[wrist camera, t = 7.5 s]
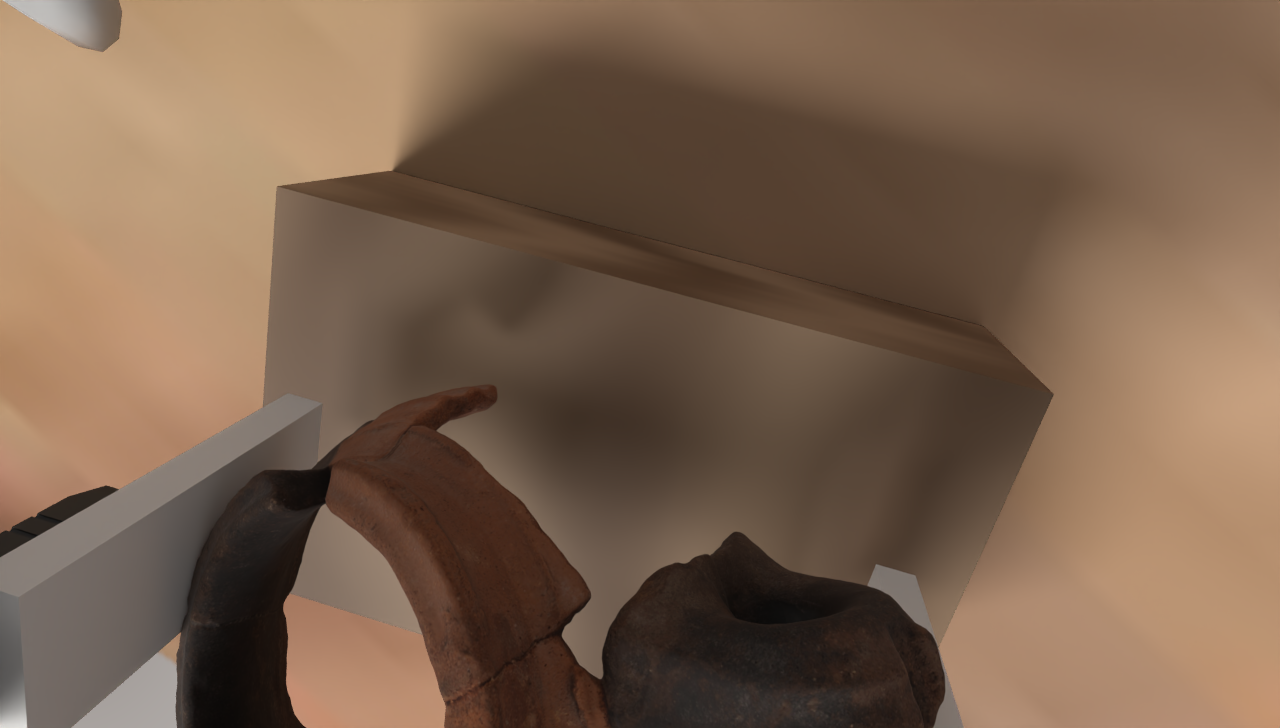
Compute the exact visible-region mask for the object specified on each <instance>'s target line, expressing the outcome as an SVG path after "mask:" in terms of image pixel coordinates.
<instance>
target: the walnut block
mask: <svg viewBox="0 0 1280 728" xmlns="http://www.w3.org/2000/svg"><path fill="white" fill-rule="evenodd" d="M488 384H490V385H494V386H495V387H496V388H497V401H496V403H495V404H493V405H492V406H491V407H490V408H489V409H487V410H485V411H481V412H477V413H474V414H471V415H468V416H466V417H463V418H459V419H455V420H451V421H448V422H447V423H446V424H444V425H442V426H441V427H440V428H439V429H437V430H436V431H437V432H439V433H441V434H443V435H445V436H447V437H449V438H450V439H452V440H454V441H456V442H457V443H458V444H459V445H461V446H462V447H463V448H465V449H466V450H467V451H469V452H470V454H471V455H472V456H473V457H474V458H476V459H477V460H478V461H479V462H480V463H481V464H482V465H483V467H484V469H485V470H486V471H487V472H488V473H489V474H491V475H492V476H493V477H494V478H495V479H496V480H497V481H498V482H499V483H500V484H501V485H502V486H503V487H505V488H506V489H508V490H509V491H510V492H511V493H513V494H514V495H515V496H517V497H518V498H519V499H520V500H521V501H522V502H523V503H524V504H525V505H526V507H527V509H528V510H529V511H530V513H531V514H532V515H533V516H534V518H535V519H536V520H537V522H538V524H539V525H540V527H541V529H542V530H543V531H544V532H545V533H546V534H547V535H548V536H549V537H550V538H551V539H552V541H553V542H554V543H555V545H556V546H557V547H558V548H559V550H560V551H561V552H562V553H563V554H564V556H565V557H566V559H567V560H568V562H569V563H570V564H571V565H572V566H573V567H574V568H575V569H576V570H577V571H578V572H579V573H580V575H581V576H582V578H583V579H584V581H585V582H586V584H587V586H588V588H589V590H590V591H591V599H590V600H589V602H588V603H587V605H586V606H585V607H584V608H583V609H582V610H581V611H580V612H579V613H577V614H575V616H574V617H573V619H572V621H571V622H570V623H569V624H567V625H566V626H565V628H564V630H563V633H562V638H563V639H564V641H565V642H566V643H567V645H568V646H569V648H570V649H571V651H572V652H573V654H574V656H575V657H576V660H577V662H578V663H579V665H580V666H582V667H583V668H585V669H586V670H587V671H588V672H589V673H591V674H592V675H593V676H595V677H597V678H599V679H602V677H603V664H602V649H603V646H604V643H605V640H606V636H607V633H608V630H609V627H610V625H611V624H612V622H613V621H614V619H615V618H616V616H617V614H618V612H619V611H620V609H621V608H622V607H623V606H624V604H625V603H626V602H628V600H629V599H630V598H631V597H633V596H634V595H635V594H636V593H637V591H638V590H639V588H640V587H641V585H642V584H643V583H644V581H645V580H646V579H647V578H648V577H649V576H651V575H652V574H653V573H654V572H656V571H657V570H658V569H660V568H663V567H665V566H667V565H671V564H673V563H677V562H678V563H683V564H685V563H688V562H689V561H690V560H691V559H693V558H694V557H696V556H699V555H703V554H708V555H711V554H713V553H714V552H715V551H716V549H718V548H719V547H720V546H721V544H722V542H723V541H724V540H725V539H726V538H727V537H728V536H729V535H730V534H732V533H733V532H741V533H743V534H744V535H746V536H747V537H748V538H749V539H750V540H751V541H752V542H753V543H755V544H756V545H757V546H759V547H760V548H761V549H762V550H763V551H764V552H765V553H766V554H767V555H768V556H769V557H771V558H772V559H773V560H774V561H775V562H777V563H778V564H780V565H781V566H782V567H784V568H786V569H788V570H790V571H793V572H797V573H802V574H806V575H811V576H816V577H825V578H830V579H836V580H842V581H847V582H854V583H858V584H862V585H866V586H868V583H869V581H870V578H871V576H872V573H873V571H874V568H875V566H876V564H877V565H881V566H884V567H888V568H891V569H894V570H898V571H901V572H905V573H908V574H912V575H915V576H916V579H917V582H918V585H919V588H920V591H921V595H922V598H923V601H924V604H925V607H926V610H927V613H928V617H929V620H930V623H931V626H932V629H933V632H934V635H935V639H936V642H937V645H938V648H939V646H940V643H941V641H942V639H943V637H944V635H945V632H946V630H947V628H948V626H949V624H950V621H951V619H952V617H953V615H954V613H955V610H956V608H957V606H958V604H959V602H960V599H961V597H962V595H963V593H964V591H965V588H966V586H967V584H968V582H969V580H970V577H971V575H972V573H973V571H974V569H975V566H976V564H977V562H978V560H979V558H980V555H981V553H982V551H983V549H984V547H985V544H986V542H987V540H988V538H989V536H990V533H991V531H992V529H993V527H994V525H995V522H996V520H997V518H998V516H999V514H1000V511H1001V509H1002V507H1003V505H1004V503H1005V501H1006V498H1007V496H1008V494H1009V492H1010V490H1011V487H1012V485H1013V483H1014V481H1015V479H1016V476H1017V474H1018V472H1019V470H1020V468H1021V465H1022V463H1023V461H1024V459H1025V457H1026V454H1027V452H1028V450H1029V448H1030V446H1031V443H1032V441H1033V439H1034V437H1035V435H1036V432H1037V430H1038V428H1039V426H1040V424H1041V421H1042V419H1043V417H1044V415H1045V413H1046V410H1047V408H1048V406H1049V404H1050V402H1051V399H1052V397H1053V395H1054V394H1053V393H1052V392H1051V391H1050V390H1049V389H1048V388H1047V387H1046V386H1045V385H1044V384H1043V383H1042V382H1041V381H1040V380H1038V379H1037V378H1036V377H1035V376H1034V375H1033V374H1032V373H1031V372H1030V371H1029V370H1028V369H1027V368H1026V367H1025V366H1024V365H1023V364H1022V363H1021V362H1020V361H1019V360H1018V359H1017V358H1016V357H1015V356H1014V355H1013V354H1012V353H1011V352H1010V351H1009V350H1008V349H1007V348H1006V347H1005V346H1004V345H1002V344H1001V343H1000V342H999V341H998V340H997V339H996V338H995V337H994V336H993V335H992V334H991V333H990V332H989V331H988V330H987V329H986V328H985V327H984V326H981V325H977V324H973V323H969V322H965V321H962V320H958V319H954V318H950V317H946V316H943V315H939V314H935V313H931V312H927V311H924V310H920V309H916V308H912V307H908V306H904V305H901V304H897V303H893V302H889V301H885V300H882V299H878V298H874V297H870V296H866V295H863V294H859V293H855V292H851V291H847V290H844V289H840V288H836V287H832V286H828V285H824V284H821V283H817V282H813V281H809V280H805V279H802V278H798V277H794V276H790V275H786V274H783V273H779V272H775V271H771V270H767V269H763V268H760V267H756V266H752V265H748V264H744V263H741V262H737V261H733V260H729V259H725V258H722V257H718V256H714V255H710V254H706V253H703V252H699V251H695V250H691V249H687V248H683V247H680V246H676V245H672V244H668V243H664V242H661V241H657V240H653V239H649V238H645V237H642V236H638V235H634V234H630V233H626V232H623V231H619V230H615V229H611V228H607V227H603V226H600V225H596V224H592V223H588V222H584V221H581V220H577V219H573V218H569V217H565V216H562V215H558V214H554V213H550V212H546V211H542V210H539V209H535V208H531V207H527V206H523V205H520V204H516V203H512V202H508V201H504V200H501V199H497V198H493V197H489V196H485V195H482V194H478V193H474V192H470V191H466V190H462V189H459V188H455V187H451V186H447V185H443V184H440V183H436V182H432V181H428V180H424V179H421V178H417V177H413V176H409V175H405V174H402V173H398V172H394V171H386V172H378V173H371V174H364V175H356V176H349V177H342V178H334V179H327V180H320V181H312V182H305V183H298V184H291V185H283V186H277V192H276V207H275V223H274V239H273V255H272V271H271V287H270V303H269V319H268V334H267V350H266V366H265V382H264V398H263V407H265V406H266V405H268V404H270V403H272V402H273V401H275V400H277V399H279V398H281V397H282V396H284V395H286V394H288V393H289V394H292V395H296V396H299V397H303V398H306V399H310V400H313V401H316V402H320V403H323V405H322V416H321V426H320V437H319V448H318V459H317V463H318V462H319V461H320V460H321V459H322V458H323V457H324V456H325V455H326V454H327V453H329V451H330V450H332V449H333V448H334V447H335V446H336V445H338V444H339V443H340V442H341V441H342V440H344V439H345V438H346V437H348V436H350V435H351V434H353V433H354V432H355V431H356V430H357V429H358V428H359V427H361V426H362V425H363V424H365V423H366V422H368V421H371V420H375V419H376V418H377V417H378V416H379V415H380V414H381V413H383V412H385V411H387V410H389V409H391V408H393V407H394V406H396V405H399V404H401V403H404V402H407V401H410V400H413V399H417V398H421V397H427V396H429V395H431V394H435V393H438V392H442V391H446V390H450V389H455V388H462V387H473V386H478V385H488ZM290 594H294V595H297V596H300V597H303V598H306V599H309V600H313V601H316V602H319V603H322V604H325V605H329V606H332V607H335V608H338V609H341V610H345V611H348V612H351V613H354V614H357V615H360V616H364V617H367V618H370V619H373V620H376V621H380V622H383V623H386V624H389V625H392V626H395V627H399V628H402V629H405V630H408V631H411V632H415V633H418V634H421V635H423V634H422V632H421V629H420V627H419V623H418V620H417V618H416V616H415V613H414V611H413V609H412V606H411V604H410V602H409V600H408V598H407V596H406V595H405V593H404V591H403V589H402V587H401V585H400V583H399V581H398V579H397V577H396V575H395V573H394V572H393V570H392V568H391V566H390V565H389V563H388V561H387V560H386V559H385V557H384V556H383V555H382V554H381V553H380V552H379V551H378V550H377V549H376V548H374V547H373V546H372V545H371V544H370V543H369V542H368V541H367V540H366V539H365V538H364V537H363V536H362V535H361V534H360V533H358V532H357V531H356V530H355V529H353V528H352V527H350V526H349V525H347V524H346V523H345V522H344V521H343V520H342V519H340V518H339V517H337V516H336V515H334V514H333V513H331V512H330V510H329V509H328V507H327V506H326V504H324V505H323V506H321V508H320V509H319V511H318V513H317V516H316V518H315V520H314V523H313V525H312V527H311V529H310V533H309V536H308V539H307V542H306V546H305V549H304V553H303V557H302V563H301V565H300V568H299V572H298V575H297V578H296V581H295V585H294V587H293V589H292V591H291V592H290Z"/></svg>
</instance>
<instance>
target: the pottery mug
mask: <svg viewBox="0 0 1280 728" xmlns="http://www.w3.org/2000/svg"><path fill="white" fill-rule="evenodd" d="M496 401H497V388H496V387H495V386H494V385H490V384H488V385H478V386H473V387H462V388H455V389H450V390H446V391H442V392H438V393H435V394H431V395H429V396H427V397H421V398H417V399H413V400H410V401H407V402H404V403H401V404H399V405H396V406H394V407H393V408H391V409H389V410H387V411H385V412H383V413H381V414H380V415H379V416H378V417H377V418H376V419H375V420H371V421H368V422H366V423H365V424H363V425H362V426H361V427H359V428H358V429H357V430H356V431H355V432H354V433H353V434H351V435H350V436H348V437H346V438H345V439H344V440H342V441H341V442H340V443H339V444H338V445H336V446H335V447H334V448H333V449H332V450H330V451H329V453H327V454H326V455H325V456H324V457H323V458H322V459H321V460H320V461H319V462H318V463H317V464H316V465H315V466H314V467H313V468H312V469H308V470H264V471H262V472H260V473H259V474H257V475H255V476H253V477H252V478H251V479H250V481H249V482H248V483H247V484H246V485H245V486H244V487H243V488H242V489H240V490H239V491H238V493H237V494H236V495H235V496H234V497H233V499H232V500H231V501H230V502H229V503H228V504H227V507H226V509H225V511H224V513H223V514H222V515H221V517H220V518H219V519H218V520H217V522H216V523H215V525H214V526H213V528H212V530H211V531H210V534H209V537H208V539H207V541H206V543H205V545H204V546H203V548H202V550H201V555H200V557H199V558H198V560H197V563H196V567H195V570H194V573H193V577H192V581H191V588H190V591H189V595H188V599H187V602H188V612H187V615H186V616H185V618H184V621H183V625H182V630H181V636H180V645H179V649H178V652H177V661H176V662H177V682H178V683H177V692H176V720H177V728H306V727H304V726H303V725H302V724H301V723H300V721H299V720H298V719H297V717H296V716H295V714H294V712H293V708H292V705H291V700H290V697H289V695H288V692H287V686H286V669H287V660H286V658H287V648H288V634H287V624H286V617H285V615H284V612H283V605H284V601H285V599H286V598H287V596H288V595H289V593H290V592H291V591H292V589H293V587H294V585H295V581H296V578H297V575H298V572H299V568H300V565H301V563H302V557H303V553H304V549H305V546H306V542H307V539H308V536H309V533H310V529H311V527H312V525H313V523H314V520H315V518H316V516H317V513H318V511H319V509H320V508H321V506H323V505H324V504H326V506H327V507H328V509H329V510H330V512H331V513H333V514H334V515H336V516H337V517H339V518H340V519H342V520H343V521H344V522H345V523H346V524H347V525H349V526H350V527H352V528H353V529H355V530H356V531H357V532H358V533H360V534H361V535H362V536H363V537H364V538H365V539H366V540H367V541H368V542H369V543H370V544H371V545H372V546H373V547H374V548H376V549H377V550H378V551H379V552H380V553H381V554H382V555H383V556H384V557H385V559H386V560H387V561H388V563H389V565H390V566H391V568H392V570H393V572H394V573H395V575H396V577H397V579H398V581H399V583H400V585H401V587H402V589H403V591H404V593H405V595H406V596H407V598H408V600H409V602H410V604H411V606H412V609H413V611H414V613H415V616H416V618H417V620H418V623H419V627H420V629H421V632H422V634H423V637H424V641H425V645H426V649H427V652H428V655H429V658H430V661H431V664H432V666H433V668H434V671H435V674H436V677H437V681H438V685H439V689H440V692H441V695H442V697H443V700H444V702H445V705H446V712H445V724H444V726H445V728H933V727H934V725H935V722H936V717H937V713H938V710H939V708H940V706H941V704H942V703H943V701H944V697H945V691H946V690H945V674H944V671H943V667H942V663H941V659H940V654H939V650H938V646H937V643H936V641H935V639H934V637H933V635H932V634H931V633H930V632H929V631H928V630H927V629H926V628H924V627H922V626H920V625H919V624H917V623H915V622H914V621H913V620H912V618H911V617H910V616H909V615H908V614H907V613H906V612H905V611H904V610H903V609H902V608H901V606H900V605H899V604H898V603H897V602H896V601H895V600H894V599H893V598H892V597H891V596H890V595H888V594H886V593H884V592H883V591H881V590H878V589H876V588H873V587H869V586H866V585H862V584H858V583H854V582H847V581H842V580H836V579H830V578H825V577H816V576H811V575H806V574H802V573H797V572H793V571H790V570H788V569H786V568H784V567H782V566H781V565H780V564H778V563H777V562H775V561H774V560H773V559H772V558H771V557H769V556H768V555H767V554H766V553H765V552H764V551H763V550H762V549H761V548H760V547H759V546H757V545H756V544H755V543H753V542H752V541H751V540H750V539H749V538H748V537H747V536H746V535H744V534H743V533H741V532H733V533H732V534H730V535H729V536H728V537H727V538H726V539H725V540H724V541H723V542H722V544H721V546H720V547H719V548H718V549H716V551H715V552H714V553H713V554H711V555H708V554H703V555H699V556H696V557H694V558H693V559H691V560H690V561H689V562H688V563H685V564H683V563H678V562H677V563H673V564H671V565H667V566H665V567H663V568H660V569H658V570H657V571H656V572H654V573H653V574H652V575H651V576H649V577H648V578H647V579H646V580H645V581H644V583H643V584H642V585H641V587H640V588H639V590H638V591H637V593H636V594H635V595H634V596H633V597H631V598H630V599H629V600H628V602H626V603H625V604H624V606H623V607H622V608H621V609H620V611H619V612H618V614H617V616H616V618H615V619H614V621H613V622H612V624H611V625H610V627H609V630H608V633H607V636H606V640H605V643H604V646H603V649H602V664H603V677H602V679H599V678H597V677H595V676H593V675H592V674H591V673H589V672H588V671H587V670H586V669H585V668H583V667H582V666H580V665H579V663H578V662H577V660H576V657H575V656H574V654H573V652H572V651H571V649H570V648H569V646H568V645H567V643H566V642H565V641H564V639H563V638H562V633H563V630H564V628H565V626H566V625H567V624H569V623H570V622H571V621H572V619H573V617H574V616H575V614H577V613H579V612H580V611H581V610H582V609H583V608H584V607H585V606H586V605H587V603H588V602H589V600H590V599H591V591H590V590H589V588H588V586H587V584H586V582H585V581H584V579H583V578H582V576H581V575H580V573H579V572H578V571H577V570H576V569H575V568H574V567H573V566H572V565H571V564H570V563H569V562H568V560H567V559H566V557H565V556H564V554H563V553H562V552H561V551H560V550H559V548H558V547H557V546H556V545H555V543H554V542H553V541H552V539H551V538H550V537H549V536H548V535H547V534H546V533H545V532H544V531H543V530H542V529H541V527H540V525H539V524H538V522H537V520H536V519H535V518H534V516H533V515H532V514H531V513H530V511H529V510H528V509H527V507H526V505H525V504H524V503H523V502H522V501H521V500H520V499H519V498H518V497H517V496H515V495H514V494H513V493H511V492H510V491H509V490H508V489H506V488H505V487H503V486H502V485H501V484H500V483H499V482H498V481H497V480H496V479H495V478H494V477H493V476H492V475H491V474H489V473H488V472H487V471H486V470H485V469H484V467H483V465H482V464H481V463H480V462H479V461H478V460H477V459H476V458H474V457H473V456H472V455H471V454H470V452H469V451H467V450H466V449H465V448H463V447H462V446H461V445H459V444H458V443H457V442H456V441H454V440H452V439H450V438H449V437H447V436H445V435H443V434H441V433H439V432H437V431H436V430H437V429H439V428H440V427H441V426H442V425H444V424H446V423H447V422H448V421H451V420H455V419H459V418H463V417H466V416H468V415H471V414H474V413H477V412H481V411H485V410H487V409H489V408H490V407H491V406H492V405H493V404H495V403H496Z"/></svg>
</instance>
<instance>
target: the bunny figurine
mask: <svg viewBox="0 0 1280 728" xmlns="http://www.w3.org/2000/svg"><path fill="white" fill-rule="evenodd" d="M3 1H5V2H6V3H8V4H9V5H11V6H12V7H14V8H15V9H17V10H18V11H20V12H21V13H23V14H24V15H26V16H28V17H29V18H31V19H33V20H34V21H36V22H38V23H39V24H41V25H43V26H44V27H46V28H48V29H49V30H51V31H53V32H55V33H56V34H58V35H60V36H61V37H63V38H65V39H66V40H68V41H70V42H71V43H73V44H75V45H76V46H78V47H82V48H87V49H92V50H96V51H101V52H103V51H105V50H106V49H107V48H108V47H109V46H111V45H112V44H113V43H114V42H116V41H117V40H118V39H119V34H120V26H121V17H122V10H121V6H120V3H119V0H3Z"/></svg>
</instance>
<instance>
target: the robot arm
mask: <svg viewBox="0 0 1280 728" xmlns="http://www.w3.org/2000/svg"><path fill="white" fill-rule="evenodd" d="M322 405H323V403H320V402H316V401H313V400H310V399H306V398H303V397H299V396H296V395H292V394H289V393H288V394H286V395H284V396H282V397H281V398H279V399H277V400H275V401H273V402H272V403H270V404H268V405H266V406H265V407H263V408H261V409H259V410H258V411H256V412H254V413H252V414H251V415H249V416H247V417H245V418H244V419H242V420H240V421H238V422H237V423H235V424H233V425H231V426H230V427H228V428H226V429H224V430H223V431H221V432H219V433H217V434H216V435H214V436H212V437H210V438H209V439H207V440H205V441H203V442H202V443H200V444H198V445H196V446H195V447H193V448H191V449H189V450H188V451H186V452H184V453H182V454H181V455H179V456H177V457H175V458H174V459H172V460H170V461H168V462H167V463H165V464H163V465H161V466H160V467H158V468H156V469H154V470H153V471H151V472H149V473H147V474H146V475H144V476H142V477H140V478H139V479H137V480H135V481H133V482H132V483H130V484H128V485H126V486H125V487H123V488H121V489H116V488H113V487H110V486H103V487H100V488H96V489H93V490H89V491H86V492H82V493H79V494H76V495H72V496H69V497H67V498H65V499H63V500H61V501H59V502H58V503H56V504H54V505H52V506H50V507H48V508H46V509H45V510H43V511H41V512H39V513H38V514H37V516H36V517H30V518H28V519H26V520H24V521H22V522H21V523H19V524H17V525H15V526H13V527H12V529H11V531H4V532H2V533H0V728H71V727H72V726H74V725H75V724H76V723H77V722H78V721H79V720H80V719H82V718H83V717H84V716H85V715H86V714H87V713H88V712H90V711H91V710H92V709H93V708H94V707H95V706H96V705H97V704H99V703H100V702H101V701H102V700H103V699H104V698H106V697H107V696H108V695H109V694H110V693H111V692H113V691H114V690H115V689H116V688H117V687H118V686H119V685H121V684H122V683H123V682H124V681H125V680H126V679H127V678H129V676H131V675H132V674H133V673H134V672H135V671H137V670H138V669H139V668H140V667H141V666H142V665H143V664H144V663H146V662H147V661H148V660H149V659H150V658H151V657H153V656H154V655H155V654H156V653H157V652H158V651H160V650H161V649H162V648H163V647H164V646H165V645H166V644H168V643H169V642H170V641H171V640H172V639H173V638H174V637H176V636H177V635H178V634H179V633H180V632H181V630H182V625H183V621H184V618H185V616H186V615H187V612H188V602H187V599H188V595H189V591H190V588H191V581H192V577H193V573H194V570H195V567H196V563H197V560H198V558H199V557H200V555H201V550H202V548H203V546H204V545H205V543H206V541H207V539H208V537H209V534H210V531H211V530H212V528H213V526H214V525H215V523H216V522H217V520H218V519H219V518H220V517H221V515H222V514H223V513H224V511H225V509H226V507H227V504H228V503H229V502H230V501H231V500H232V499H233V497H234V496H235V495H236V494H237V493H238V491H239V490H240V489H242V488H243V487H244V486H245V485H246V484H247V483H248V482H249V481H250V479H251V478H252V477H253V476H255V475H257V474H259V473H260V472H262V471H264V470H308V469H312V468H313V467H314V466H315V465H316V464H317V459H318V448H319V437H320V426H321V416H322ZM868 586H869V587H873V588H876V589H878V590H881V591H883V592H884V593H886V594H888V595H890V596H891V597H892V598H893V599H894V600H895V601H896V602H897V603H898V604H899V605H900V606H901V608H902V609H903V610H904V611H905V612H906V613H907V614H908V615H909V616H910V617H911V618H912V620H913V621H914V622H915V623H917V624H919V625H920V626H922V627H924V628H926V629H927V630H928V631H929V632H930V633H931V634H932V635H933V637H934V639H935V635H934V632H933V629H932V626H931V623H930V620H929V617H928V613H927V610H926V607H925V604H924V601H923V598H922V595H921V591H920V588H919V585H918V582H917V579H916V576H915V575H912V574H908V573H905V572H901V571H898V570H894V569H891V568H888V567H884V566H881V565H877V564H876V566H875V568H874V571H873V573H872V576H871V578H870V581H869V583H868ZM935 641H936V639H935ZM936 643H937V642H936ZM937 646H938V645H937ZM938 650H939V648H938ZM939 654H940V651H939ZM940 659H941V663H942V667H943V671H944V674H945V690H946V691H945V697H944V701H943V703H942V704H941V706H940V708H939V710H938V713H937V717H936V722H935V725H934V727H933V728H964V727H963V724H962V720H961V717H960V714H959V711H958V708H957V705H956V702H955V698H954V695H953V692H952V689H951V686H950V683H949V680H948V676H947V673H946V670H945V667H944V664H943V661H942V658H941V654H940Z"/></svg>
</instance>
